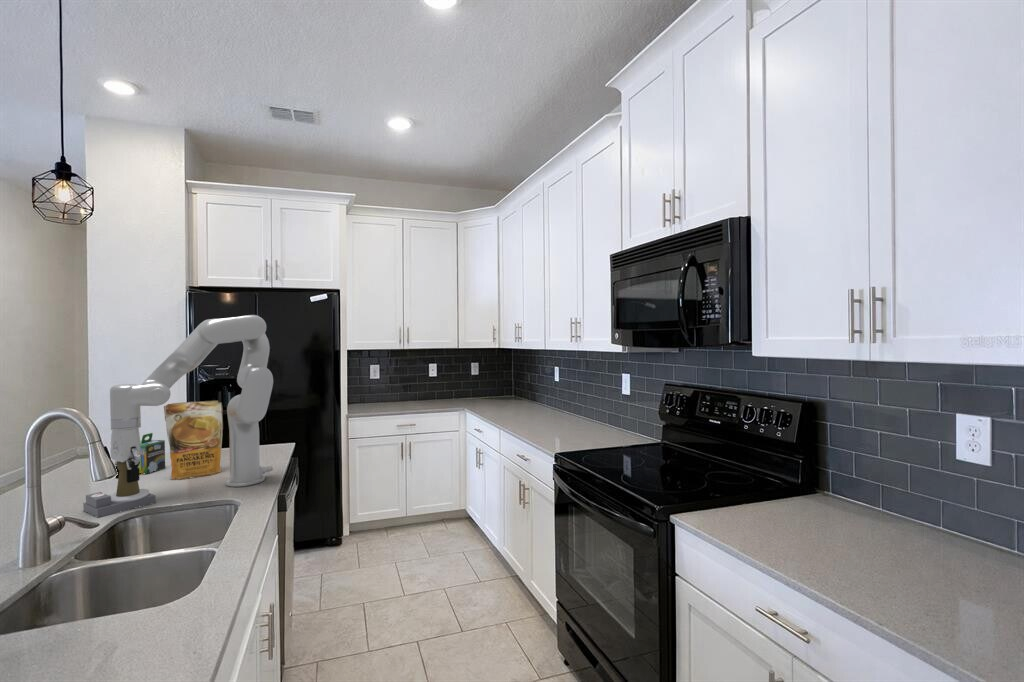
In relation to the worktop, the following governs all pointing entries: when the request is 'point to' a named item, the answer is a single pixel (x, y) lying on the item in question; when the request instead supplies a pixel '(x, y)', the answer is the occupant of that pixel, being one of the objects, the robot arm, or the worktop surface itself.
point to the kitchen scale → (116, 502)
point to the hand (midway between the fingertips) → (127, 479)
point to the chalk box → (151, 454)
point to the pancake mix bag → (194, 438)
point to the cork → (125, 482)
